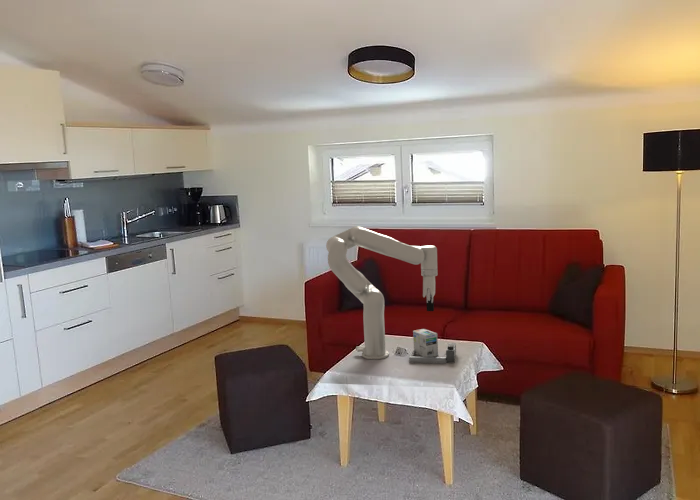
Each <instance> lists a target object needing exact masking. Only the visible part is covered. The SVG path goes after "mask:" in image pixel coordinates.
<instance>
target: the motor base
mask: <svg viewBox="0 0 700 500" xmlns="http://www.w3.org/2000/svg"><path fill="white" fill-rule="evenodd" d="M445 349H446V350H445V352H444V356H442V357H441V356H434V357H423V356H415V355H416V353H415V350H414V349H412V352H411V354H410V355H409V357H408V360H409V361H408V363H410V364H413V363H414V364H442V365H443V364H444V365H445V364H447V363H451V364H452V363H455V361H456V357H457V343H456V342H448V343H447V345H446V348H445Z"/></svg>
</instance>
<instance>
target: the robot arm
mask: <svg viewBox="0 0 700 500" xmlns="http://www.w3.org/2000/svg"><path fill="white" fill-rule="evenodd" d="M325 246H326V250H327V252H328V253H327V263H328V267H329V269H330V271H331V272H332V273H333V274H334V275H335V276H336V277H337V279H339V281H340V282H342V283H343V284H344V286H345V288H347V290H348V291H349V292H351V293H352V294H353V295H354V296H355V298H357V299H358V300H359V301H360V302H361V304H363V305H362V306H363V313H362V315H363V317H362V318H363V320H362V321H363V336H364V337H363V338H364V345H362V346H360V345H359V346H357V345H356V347H355V351H357V352H358V353H359V352H360V353H361V352H362V353H361V357H362V358H364V359H366V360H382V359H385V358H388V357H389V356H390V353H389V351H388V350H386V335H385V334H386V332H385V331H386V330H385V297H384V294H383V293H382V292H381V291H380V290H379V289H378V288H376V286H374V285H373V284H372V282H370V281H369V280H368V278H366V276H365V275H364V274H363V273H362V272H361V271H359V270H358V269H357V268H355V267H354V266H353V264H352V263H351V262H350V261H349V260H348V259H347V258H348V257H347V252H348V250H349V249H352V248H354V247H356V246H357V247H360V248H362V249H363V248H364V249H366V250H368V251H372V252H375V253H378V254H380V255H384V256H387V257H391V258H394V259H397V260H399V261H402V262H406V263H409V264H412V265H420V271H421V273H420V274H421V276H422V297H423V298H425V297H426V312H434V310H435V302H434V296H435V295H436V277H437V276H438V248H437V247H436V246H435V245H431V244H430V245H428V244H427V245H421V246H420V245H409V244H407V243H404V242H402V241H399V240H397V239H395V238H393V237H391V236H388V235H386V234H382V233H378V232H376V231H373V230H370V229H368V228H365V227H363V226H357V225H356V226H353V227H351V228H348V229H346V230H344V231H342V232H340V233H337V234H335V235H333V236H332V237H330V238H329V239H328V240H327V242H326V245H325Z"/></svg>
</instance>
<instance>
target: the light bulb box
mask: <svg viewBox="0 0 700 500" xmlns="http://www.w3.org/2000/svg"><path fill="white" fill-rule="evenodd" d="M412 333H413V334H412V336H413V337H412V339H413V350H415V355H418V356H420V357H439V346H438V345H439V344H438V343H439V342H438V340H439V339H438V332H434V331H431V330H429V329H426V328H421V329H416V330H412Z"/></svg>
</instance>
